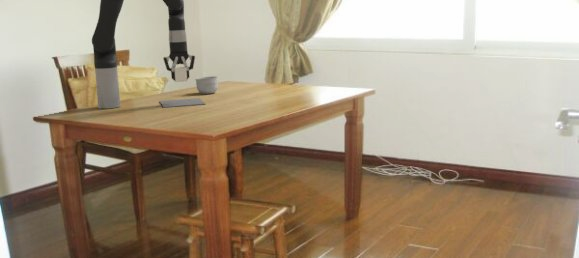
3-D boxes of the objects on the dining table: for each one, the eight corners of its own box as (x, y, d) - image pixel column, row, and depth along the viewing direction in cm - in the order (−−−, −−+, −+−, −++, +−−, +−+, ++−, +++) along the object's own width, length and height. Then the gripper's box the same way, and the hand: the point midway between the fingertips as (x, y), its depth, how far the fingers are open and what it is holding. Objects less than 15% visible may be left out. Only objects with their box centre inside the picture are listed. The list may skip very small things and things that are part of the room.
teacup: (207, 95, 290) (206, 78, 288) (191, 94, 296) (190, 77, 294) (227, 91, 300) (226, 75, 299) (211, 90, 307) (210, 74, 305)
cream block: (175, 82, 262) (174, 68, 261) (174, 80, 267) (173, 67, 266) (187, 81, 264) (186, 67, 262) (185, 80, 268) (184, 66, 267)
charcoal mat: (163, 107, 256) (163, 106, 256) (159, 101, 273) (159, 101, 273) (205, 104, 261) (205, 103, 261) (199, 99, 278) (199, 98, 278)
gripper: (161, 42, 256) (165, 81, 260) (195, 40, 260) (198, 79, 264) (160, 41, 263) (163, 80, 267) (193, 39, 267) (195, 77, 271)
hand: (180, 79), depth 265 cm, fingers closed on cream block, 5 cm apart
